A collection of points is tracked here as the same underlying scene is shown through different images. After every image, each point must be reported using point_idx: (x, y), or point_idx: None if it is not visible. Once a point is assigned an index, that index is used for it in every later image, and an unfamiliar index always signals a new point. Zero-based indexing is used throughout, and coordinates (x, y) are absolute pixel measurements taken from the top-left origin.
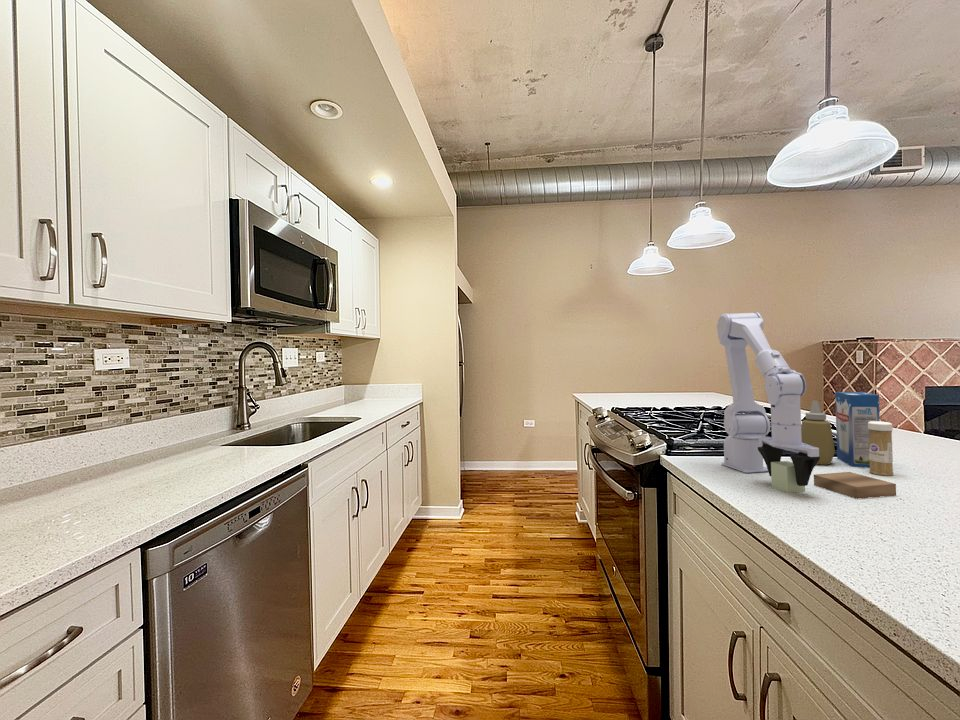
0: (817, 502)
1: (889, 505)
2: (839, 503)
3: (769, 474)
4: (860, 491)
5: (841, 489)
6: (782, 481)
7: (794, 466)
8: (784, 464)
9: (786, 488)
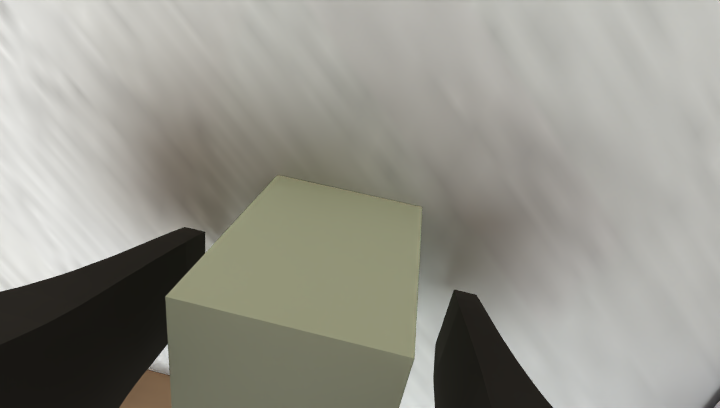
0: (71, 141)
1: None
2: (49, 230)
3: (478, 301)
4: None
5: (167, 399)
6: (302, 217)
7: (67, 310)
8: (262, 368)
9: (278, 186)
